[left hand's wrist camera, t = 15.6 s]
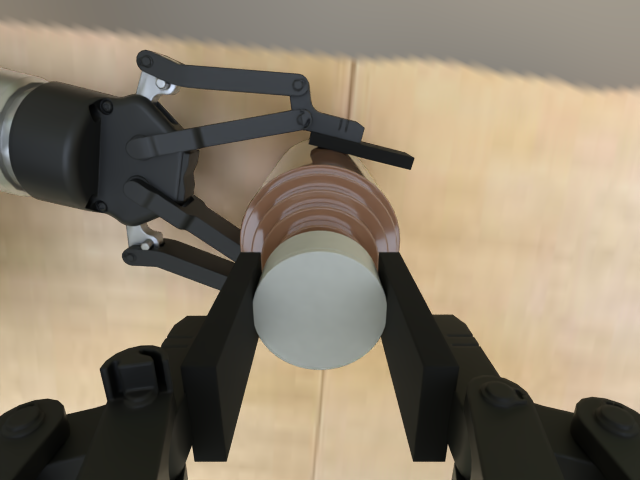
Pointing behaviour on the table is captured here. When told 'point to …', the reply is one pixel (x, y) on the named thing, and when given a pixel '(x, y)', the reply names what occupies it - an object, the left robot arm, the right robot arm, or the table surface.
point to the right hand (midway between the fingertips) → (387, 222)
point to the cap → (319, 301)
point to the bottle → (319, 203)
